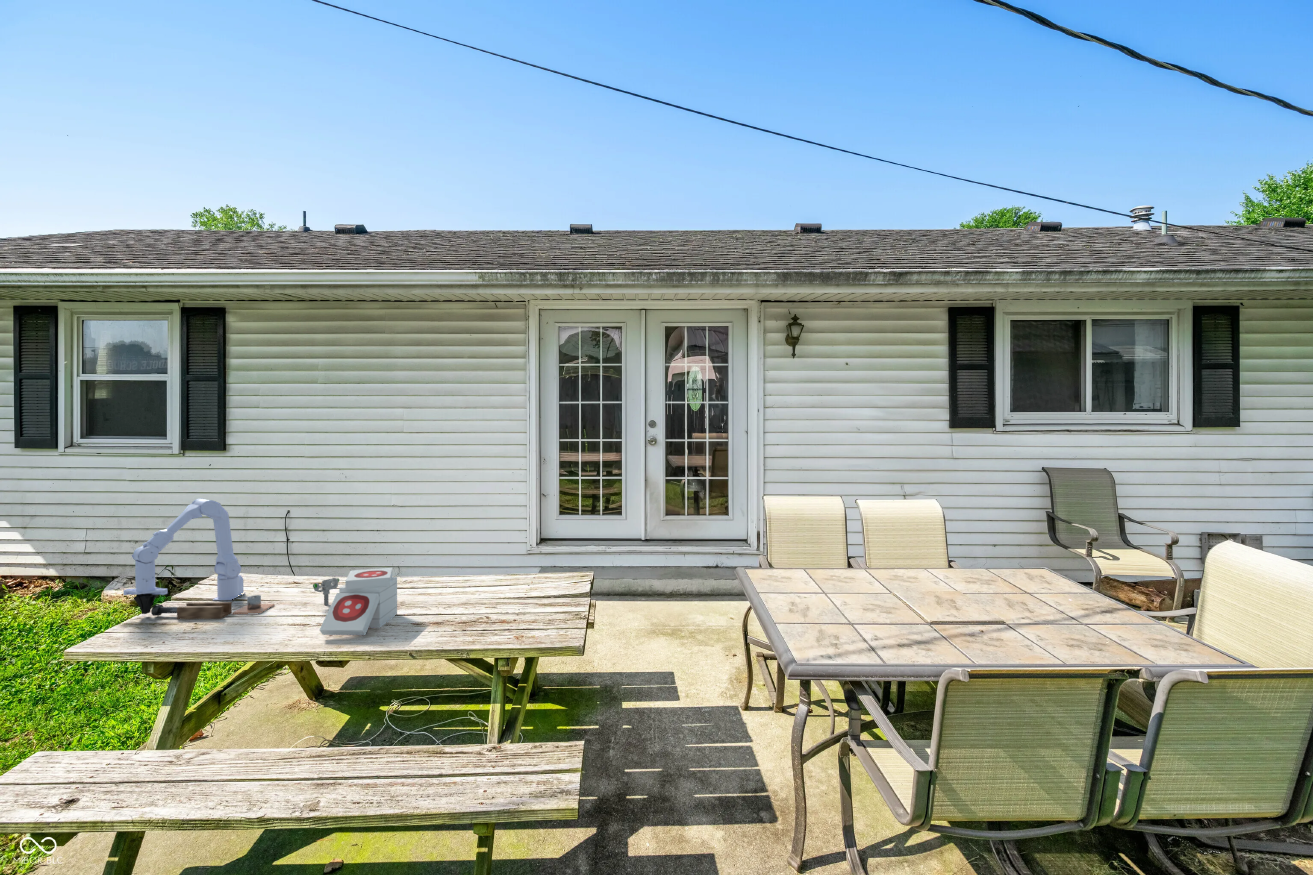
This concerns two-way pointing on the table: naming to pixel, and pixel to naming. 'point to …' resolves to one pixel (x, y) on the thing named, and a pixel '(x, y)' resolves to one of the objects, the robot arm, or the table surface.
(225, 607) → the shaft housing
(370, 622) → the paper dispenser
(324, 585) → the mechanical component
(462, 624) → the table surface
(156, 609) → the shaft
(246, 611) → the terracotta tile
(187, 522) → the robot arm
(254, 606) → the block
